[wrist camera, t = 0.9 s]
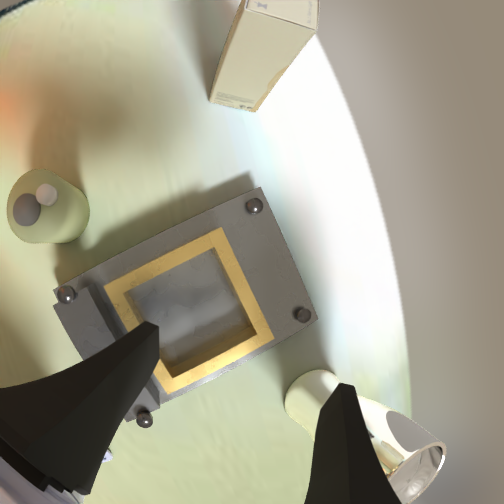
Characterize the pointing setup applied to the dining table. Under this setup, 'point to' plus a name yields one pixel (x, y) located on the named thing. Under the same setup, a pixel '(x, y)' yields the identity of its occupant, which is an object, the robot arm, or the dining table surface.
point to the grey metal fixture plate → (193, 298)
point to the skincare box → (261, 49)
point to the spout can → (46, 208)
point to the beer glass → (375, 434)
